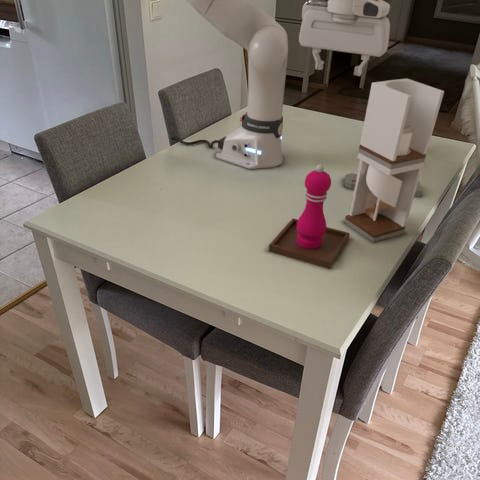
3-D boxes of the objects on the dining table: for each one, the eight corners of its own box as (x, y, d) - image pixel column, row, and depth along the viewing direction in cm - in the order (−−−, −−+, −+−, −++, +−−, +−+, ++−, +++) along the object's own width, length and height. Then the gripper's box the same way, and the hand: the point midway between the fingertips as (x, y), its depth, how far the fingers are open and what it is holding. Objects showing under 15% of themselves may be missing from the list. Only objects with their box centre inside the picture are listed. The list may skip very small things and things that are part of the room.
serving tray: (268, 251, 119) (269, 244, 118) (292, 224, 130) (292, 218, 129) (329, 268, 114) (330, 262, 113) (348, 239, 125) (349, 232, 124)
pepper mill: (327, 239, 123) (340, 162, 110) (318, 253, 118) (331, 174, 105) (300, 232, 125) (310, 156, 112) (290, 245, 120) (299, 167, 107)
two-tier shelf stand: (344, 222, 132) (372, 82, 109) (374, 214, 136) (406, 78, 114) (372, 242, 124) (408, 96, 102) (403, 233, 128) (444, 91, 106)
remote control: (420, 197, 146) (422, 190, 144) (344, 188, 148) (345, 181, 147) (417, 186, 152) (419, 179, 150) (344, 177, 154) (346, 171, 153)
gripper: (298, -1, 107) (291, 68, 116) (391, 9, 101) (376, 81, 110) (308, -4, 112) (301, 63, 120) (397, 6, 105) (383, 75, 114)
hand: (337, 72), depth 115 cm, fingers open, 8 cm apart
